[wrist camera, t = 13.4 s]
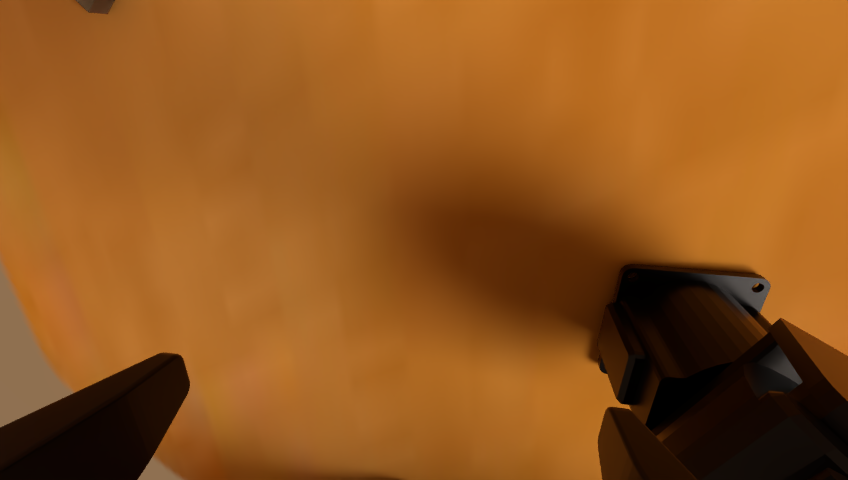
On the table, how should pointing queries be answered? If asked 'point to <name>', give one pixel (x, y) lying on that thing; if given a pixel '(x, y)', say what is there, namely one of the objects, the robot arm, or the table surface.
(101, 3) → the board
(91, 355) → the table surface
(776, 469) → the robot arm
